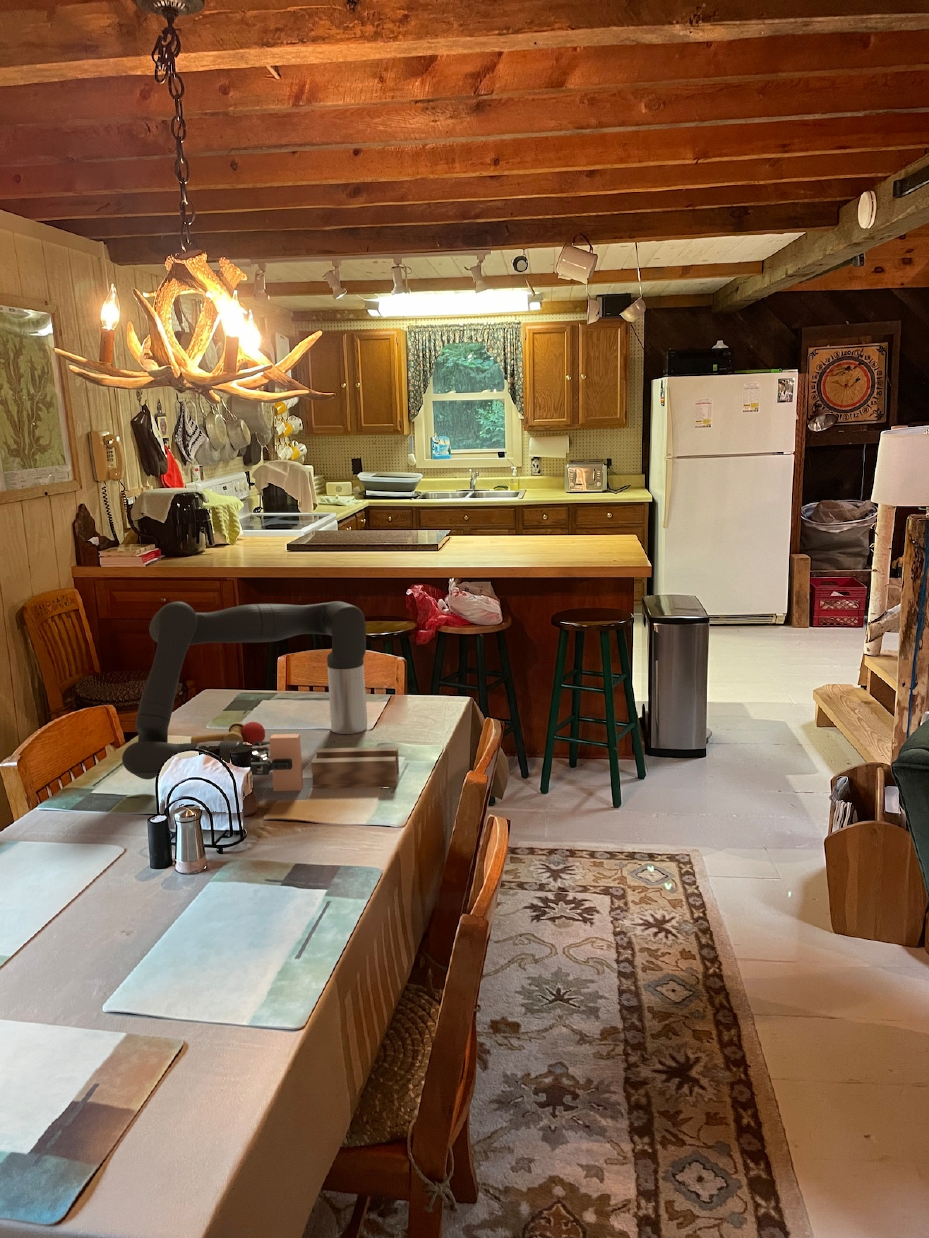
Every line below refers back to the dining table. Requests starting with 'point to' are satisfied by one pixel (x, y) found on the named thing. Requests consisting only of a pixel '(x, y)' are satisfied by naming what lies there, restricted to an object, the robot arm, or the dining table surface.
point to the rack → (355, 767)
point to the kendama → (236, 734)
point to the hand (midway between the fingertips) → (295, 756)
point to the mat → (288, 792)
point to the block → (287, 749)
